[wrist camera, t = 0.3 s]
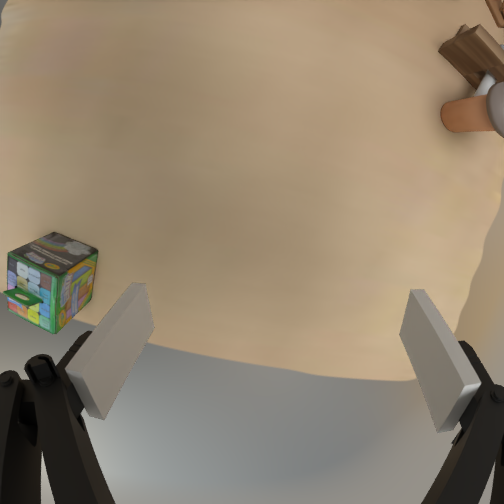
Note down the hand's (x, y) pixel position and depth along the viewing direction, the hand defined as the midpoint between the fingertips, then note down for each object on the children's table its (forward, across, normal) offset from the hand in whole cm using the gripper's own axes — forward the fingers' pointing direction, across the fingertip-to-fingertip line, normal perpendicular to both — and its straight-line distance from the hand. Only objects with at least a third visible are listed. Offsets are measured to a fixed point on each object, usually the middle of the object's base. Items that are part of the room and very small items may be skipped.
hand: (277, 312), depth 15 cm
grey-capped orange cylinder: (+30, +28, +16) cm, 44 cm away
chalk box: (+24, -32, -10) cm, 41 cm away
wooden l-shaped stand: (+31, +31, +20) cm, 48 cm away
